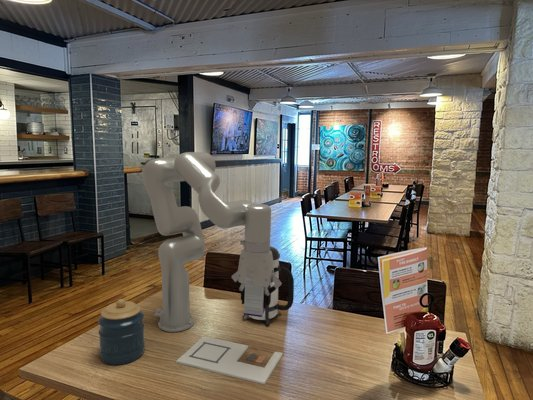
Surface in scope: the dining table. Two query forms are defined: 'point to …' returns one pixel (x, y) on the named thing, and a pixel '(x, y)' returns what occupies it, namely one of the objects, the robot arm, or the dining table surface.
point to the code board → (228, 360)
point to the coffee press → (276, 292)
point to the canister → (121, 333)
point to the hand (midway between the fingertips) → (255, 303)
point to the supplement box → (253, 299)
